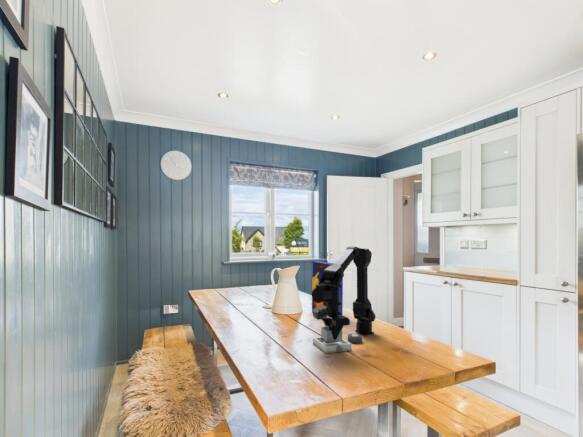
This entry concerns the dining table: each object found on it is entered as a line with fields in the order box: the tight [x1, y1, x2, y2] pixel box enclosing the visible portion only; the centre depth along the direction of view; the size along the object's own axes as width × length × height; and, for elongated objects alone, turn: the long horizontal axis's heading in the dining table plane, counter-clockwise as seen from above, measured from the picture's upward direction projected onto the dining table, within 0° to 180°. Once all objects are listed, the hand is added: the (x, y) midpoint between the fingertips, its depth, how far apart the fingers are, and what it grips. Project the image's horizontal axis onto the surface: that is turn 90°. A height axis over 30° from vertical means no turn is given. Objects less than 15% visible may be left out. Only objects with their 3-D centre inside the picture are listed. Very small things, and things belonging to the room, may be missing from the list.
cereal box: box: [311, 260, 344, 316], centre depth 184 cm, size 22×6×30 cm, turn 28°
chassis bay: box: [312, 336, 352, 354], centre depth 133 cm, size 12×15×2 cm
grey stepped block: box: [320, 324, 343, 343], centre depth 134 cm, size 7×5×6 cm
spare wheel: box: [347, 333, 363, 345], centre depth 141 cm, size 6×6×3 cm
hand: (331, 337), depth 133 cm, fingers closed on grey stepped block, 5 cm apart
